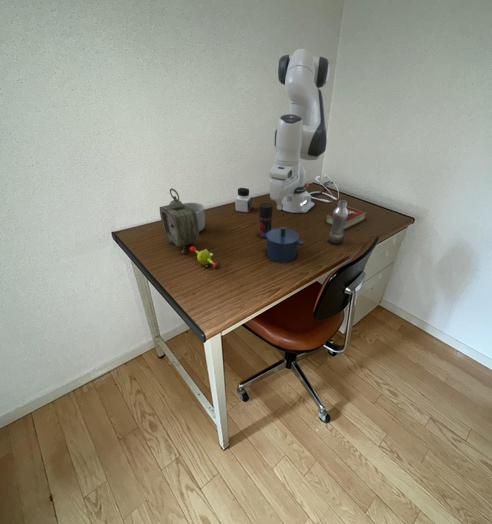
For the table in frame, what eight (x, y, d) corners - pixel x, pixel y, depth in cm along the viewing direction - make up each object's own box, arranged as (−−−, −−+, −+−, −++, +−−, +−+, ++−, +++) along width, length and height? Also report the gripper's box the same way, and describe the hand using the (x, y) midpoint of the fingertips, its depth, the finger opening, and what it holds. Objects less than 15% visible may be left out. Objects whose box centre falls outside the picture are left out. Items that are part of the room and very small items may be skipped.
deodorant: (273, 237, 126) (274, 207, 118) (261, 238, 124) (261, 208, 116) (269, 231, 130) (270, 202, 122) (257, 232, 128) (257, 203, 120)
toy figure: (226, 273, 100) (225, 258, 97) (213, 279, 97) (212, 264, 93) (198, 253, 110) (196, 239, 106) (186, 258, 106) (184, 244, 102)
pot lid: (272, 227, 116) (273, 218, 114) (301, 234, 114) (302, 224, 111) (261, 241, 106) (261, 231, 103) (293, 248, 103) (294, 238, 101)
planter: (193, 221, 134) (190, 200, 127) (211, 228, 129) (209, 207, 123) (173, 230, 125) (169, 208, 118) (192, 238, 120) (188, 215, 114)
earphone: (331, 199, 161) (316, 174, 162) (315, 213, 174) (301, 190, 175) (344, 195, 169) (329, 171, 170) (327, 208, 182) (314, 186, 183)
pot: (266, 242, 121) (267, 226, 116) (304, 251, 117) (306, 234, 113) (256, 256, 111) (256, 238, 106) (297, 266, 107) (299, 248, 103)
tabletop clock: (166, 242, 115) (154, 185, 101) (185, 236, 121) (177, 181, 107) (182, 257, 107) (171, 197, 93) (202, 249, 112) (195, 192, 98)
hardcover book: (325, 222, 143) (326, 214, 141) (346, 212, 156) (348, 205, 154) (343, 230, 137) (345, 223, 135) (364, 219, 150) (366, 212, 147)
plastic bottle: (325, 239, 128) (332, 199, 116) (337, 237, 130) (345, 198, 119) (331, 246, 123) (339, 205, 112) (344, 244, 125) (353, 204, 114)
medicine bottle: (247, 212, 146) (247, 191, 140) (235, 210, 147) (234, 189, 141) (251, 207, 152) (251, 187, 146) (239, 206, 153) (239, 185, 146)
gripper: (289, 160, 103) (287, 195, 111) (266, 172, 87) (265, 212, 95) (305, 163, 101) (301, 198, 109) (284, 176, 85) (281, 216, 93)
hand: (284, 204), depth 102 cm, fingers open, 8 cm apart
